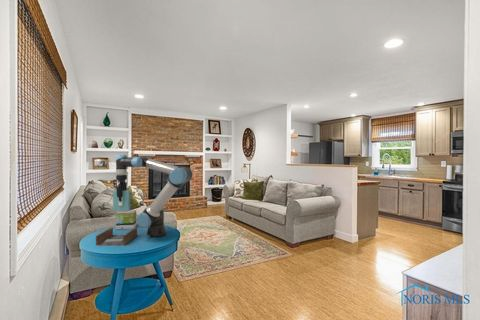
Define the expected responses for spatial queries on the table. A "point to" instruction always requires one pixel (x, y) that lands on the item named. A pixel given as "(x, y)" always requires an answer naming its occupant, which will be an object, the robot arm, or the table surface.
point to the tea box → (126, 219)
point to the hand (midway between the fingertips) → (121, 205)
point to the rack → (115, 237)
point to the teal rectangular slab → (126, 201)
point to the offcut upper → (113, 241)
